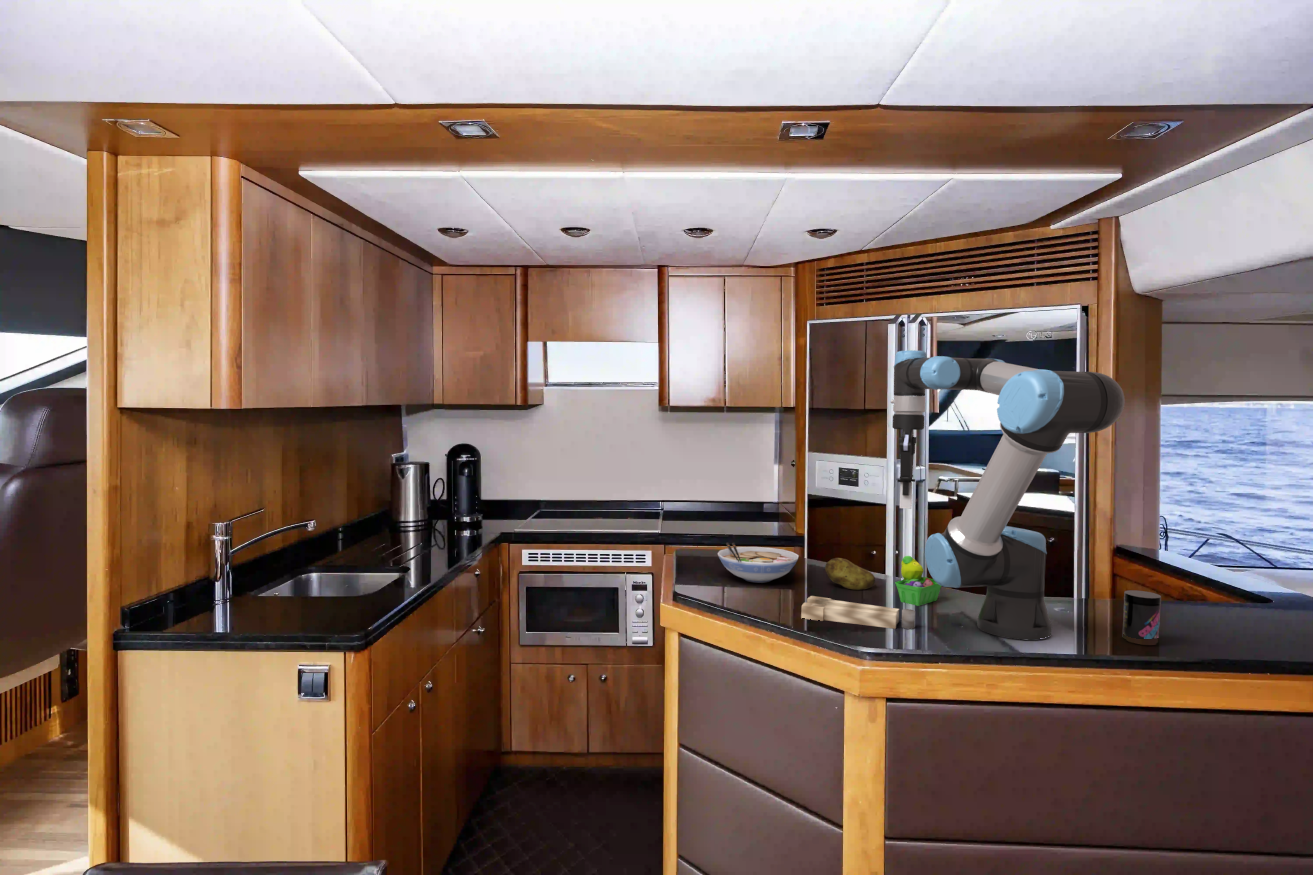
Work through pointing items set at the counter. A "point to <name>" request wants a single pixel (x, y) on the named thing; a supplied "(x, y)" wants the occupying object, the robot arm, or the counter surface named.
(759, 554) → the ramen bowl
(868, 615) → the tongs fixed
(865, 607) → the bar
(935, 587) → the fruit basket
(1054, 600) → the counter surface
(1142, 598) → the supplement container
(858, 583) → the potato
